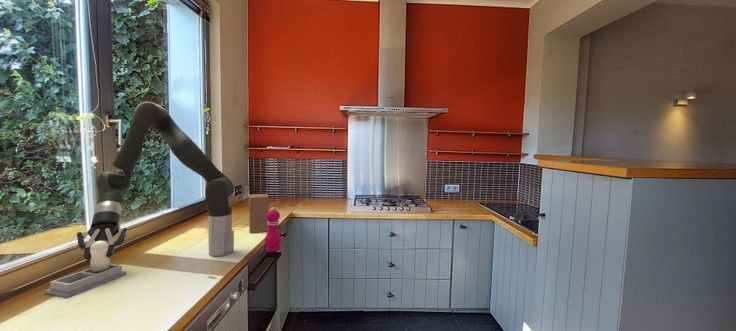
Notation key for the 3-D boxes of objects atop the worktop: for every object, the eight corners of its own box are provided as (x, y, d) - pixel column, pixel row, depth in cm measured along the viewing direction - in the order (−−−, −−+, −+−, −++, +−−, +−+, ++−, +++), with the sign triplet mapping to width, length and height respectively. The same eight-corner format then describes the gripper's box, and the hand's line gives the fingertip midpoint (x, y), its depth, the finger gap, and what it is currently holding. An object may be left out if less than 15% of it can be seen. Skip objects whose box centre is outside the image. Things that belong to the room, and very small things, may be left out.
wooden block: (268, 231, 157) (268, 196, 156) (249, 233, 154) (249, 197, 152) (267, 227, 167) (267, 193, 165) (249, 228, 163) (249, 194, 162)
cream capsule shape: (113, 266, 100) (112, 239, 99) (97, 272, 95) (96, 243, 95) (103, 265, 101) (102, 238, 101) (87, 270, 97) (86, 242, 96)
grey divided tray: (126, 274, 102) (125, 265, 102) (67, 297, 86) (66, 286, 85) (106, 271, 104) (106, 261, 104) (45, 293, 88) (44, 282, 88)
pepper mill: (284, 248, 132) (284, 206, 131) (274, 253, 125) (274, 209, 124) (271, 246, 134) (271, 205, 133) (261, 251, 128) (261, 207, 126)
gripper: (78, 212, 100) (65, 256, 90) (130, 208, 107) (123, 249, 98) (83, 223, 105) (72, 266, 95) (133, 219, 112) (127, 259, 102)
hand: (98, 257), depth 96 cm, fingers closed on cream capsule shape, 4 cm apart
